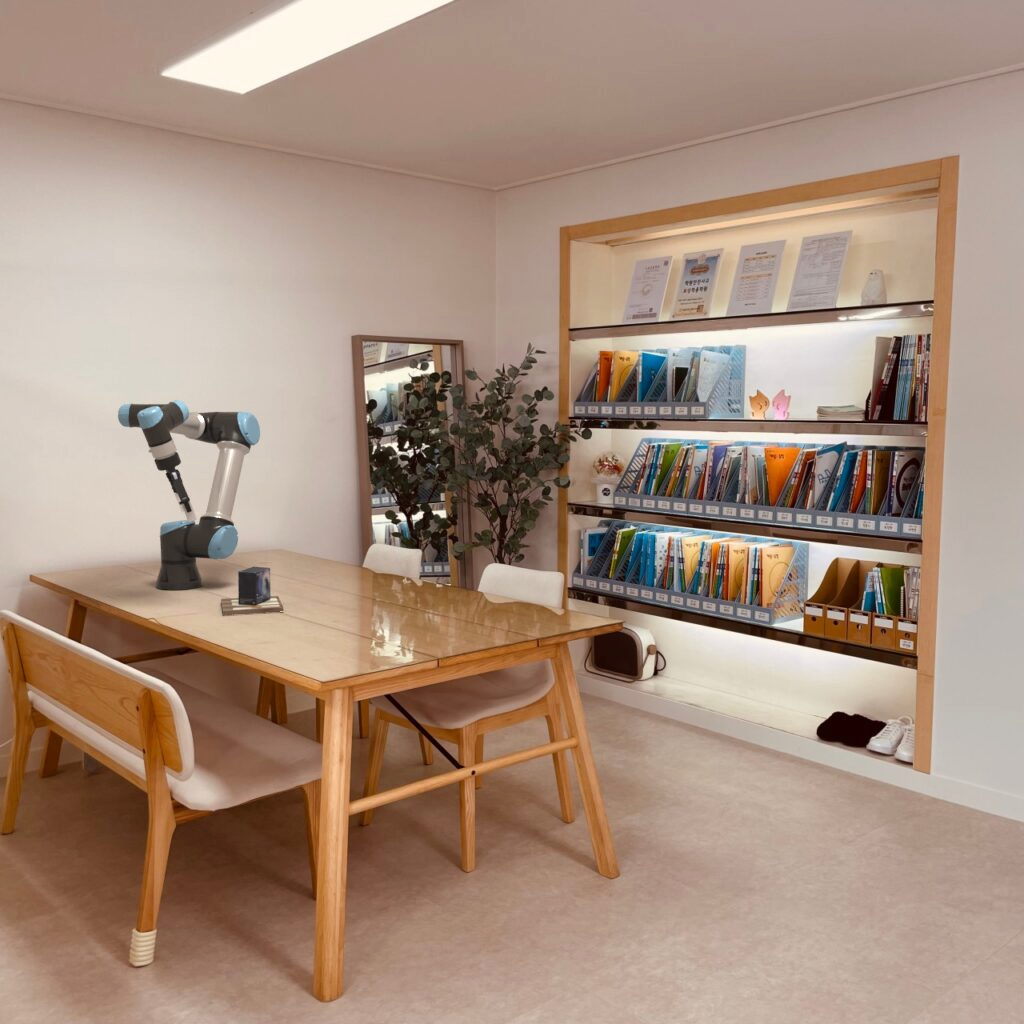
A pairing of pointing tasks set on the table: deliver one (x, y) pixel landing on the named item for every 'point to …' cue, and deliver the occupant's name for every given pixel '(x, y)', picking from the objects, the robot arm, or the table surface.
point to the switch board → (250, 606)
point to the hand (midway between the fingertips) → (189, 515)
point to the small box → (254, 585)
